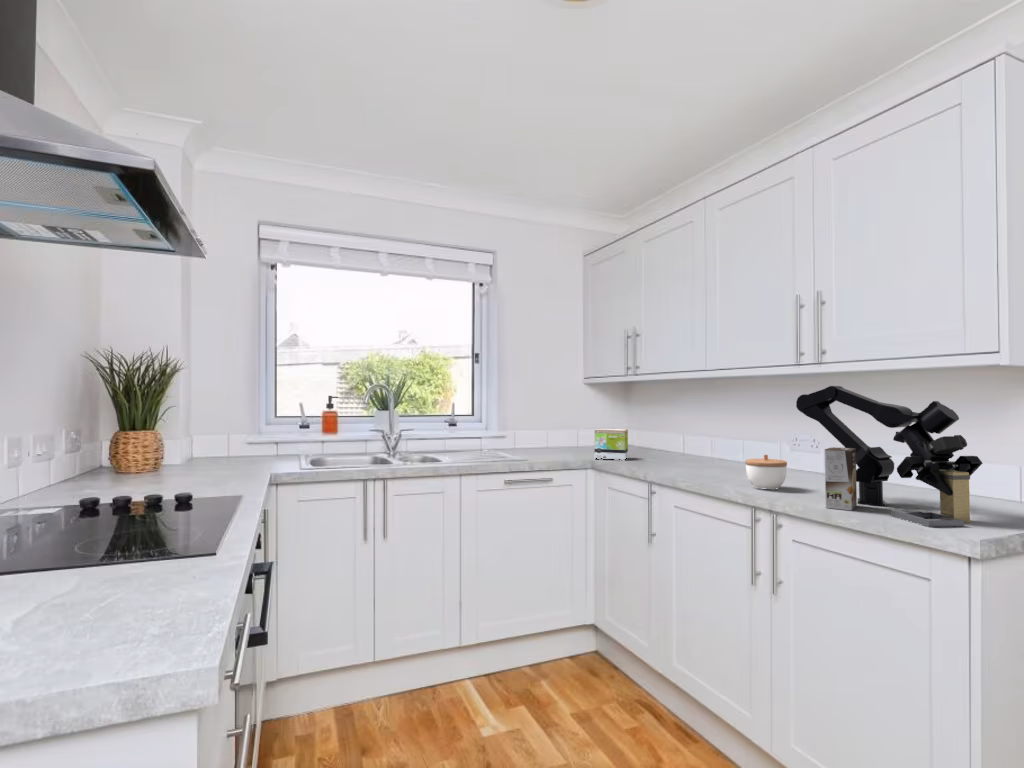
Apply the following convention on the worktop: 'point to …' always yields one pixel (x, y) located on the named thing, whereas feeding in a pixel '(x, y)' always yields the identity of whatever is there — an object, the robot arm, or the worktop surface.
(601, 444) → the tea box
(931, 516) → the rail plate
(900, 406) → the robot arm
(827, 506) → the coffee box
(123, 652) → the worktop surface
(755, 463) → the lidded bowl
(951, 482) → the post
